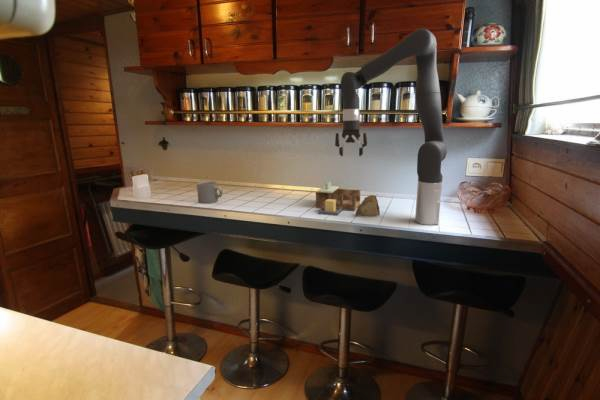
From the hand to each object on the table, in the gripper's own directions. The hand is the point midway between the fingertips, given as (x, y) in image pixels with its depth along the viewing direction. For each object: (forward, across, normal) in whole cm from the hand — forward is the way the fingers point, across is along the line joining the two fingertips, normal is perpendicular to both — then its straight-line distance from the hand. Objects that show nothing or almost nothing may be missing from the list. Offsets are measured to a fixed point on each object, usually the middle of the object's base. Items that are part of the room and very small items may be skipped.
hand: (350, 156), depth 157 cm
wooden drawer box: (+25, +7, -5) cm, 27 cm away
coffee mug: (+24, +73, +8) cm, 77 cm away
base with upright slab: (+23, +117, +9) cm, 120 cm away
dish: (+25, +8, +7) cm, 27 cm away
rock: (+26, -9, +7) cm, 28 cm away
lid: (+17, +12, -5) cm, 22 cm away
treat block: (+25, +8, +7) cm, 27 cm away
